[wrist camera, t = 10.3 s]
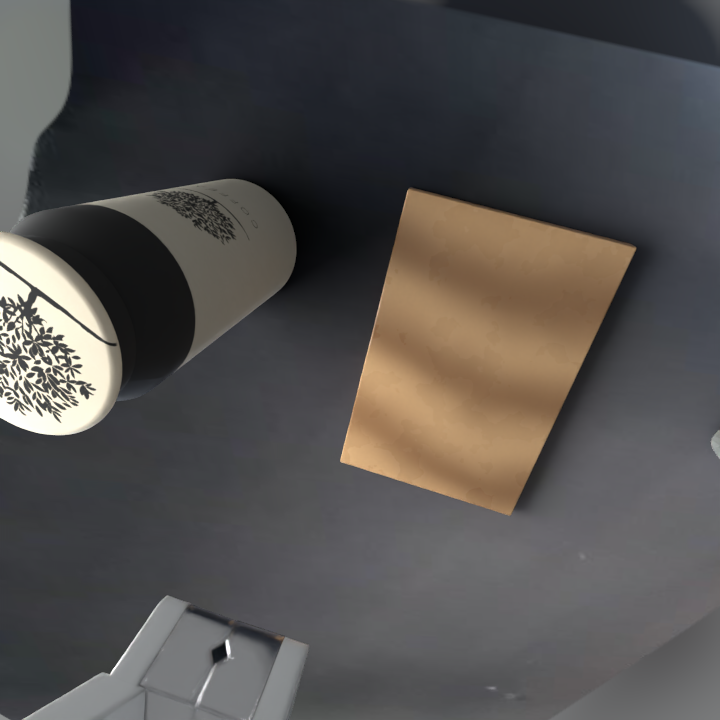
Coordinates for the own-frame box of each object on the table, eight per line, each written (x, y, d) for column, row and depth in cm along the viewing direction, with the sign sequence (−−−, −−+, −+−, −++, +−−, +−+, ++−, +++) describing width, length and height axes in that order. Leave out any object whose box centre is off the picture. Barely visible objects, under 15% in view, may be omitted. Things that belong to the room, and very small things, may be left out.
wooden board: (409, 186, 29) (407, 188, 28) (632, 244, 28) (637, 247, 27) (343, 454, 38) (339, 462, 37) (510, 507, 37) (510, 516, 36)
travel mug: (247, 322, 35) (55, 478, 19) (163, 237, 34) (-117, 328, 18) (322, 247, 32) (165, 360, 16) (233, 149, 31) (-36, 166, 15)
